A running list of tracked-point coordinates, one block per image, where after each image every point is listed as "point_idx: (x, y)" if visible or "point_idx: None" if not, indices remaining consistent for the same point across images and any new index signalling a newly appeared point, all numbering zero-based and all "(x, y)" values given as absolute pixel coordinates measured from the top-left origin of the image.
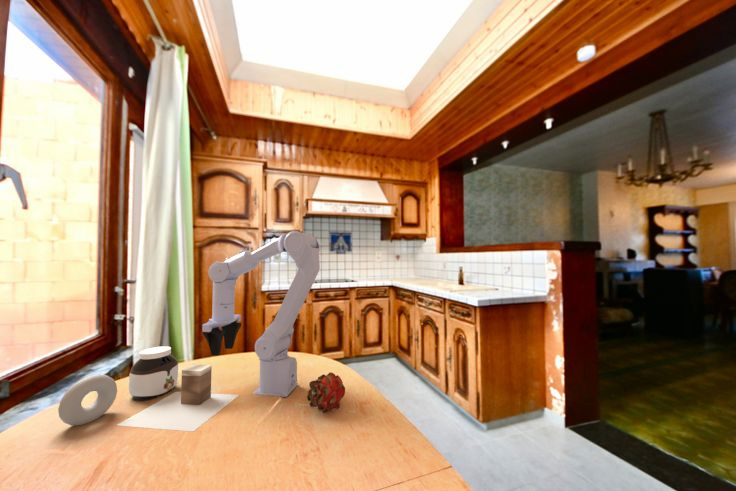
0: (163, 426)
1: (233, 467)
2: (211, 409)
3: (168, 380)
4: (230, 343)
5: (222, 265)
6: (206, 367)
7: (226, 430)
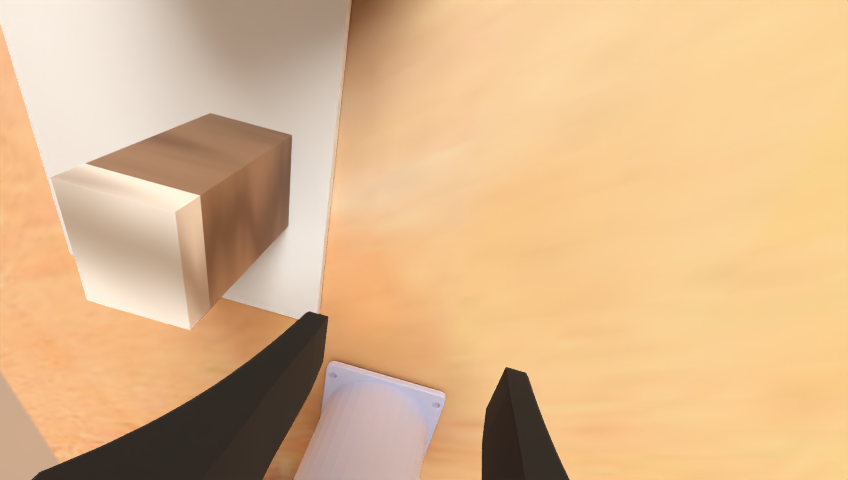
0: (49, 142)
1: (28, 361)
2: None
3: None
4: (488, 447)
5: None
6: (149, 312)
7: (124, 325)
